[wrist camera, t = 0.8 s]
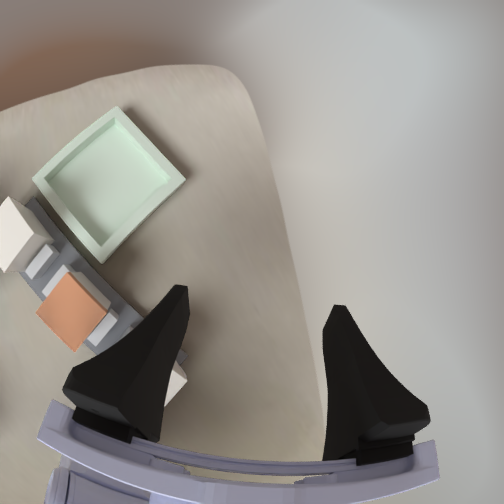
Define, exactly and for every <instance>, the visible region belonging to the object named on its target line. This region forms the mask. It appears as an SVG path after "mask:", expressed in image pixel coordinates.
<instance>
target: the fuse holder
mask: <svg viewBox="0 0 504 504" xmlns="http://www.w3.org/2000/svg"><path fill="white" fill-rule="evenodd" d="M14 200H15V199H14ZM15 201H16V200H15ZM17 202H18V201H17ZM18 203H19V202H18ZM20 204H21V203H20ZM21 205H22V204H21ZM25 207H26V208H28V209H29V210H31V211H32V212H33V213H34V215H35V216H36V217H37V219H38V220H39V221H40V223H41V224H42V225H43V227H44V228H45V229H46V231H47V232H48V233H49V234H50V236H51V237H52V238H53V239H54V242H53V243H52V244H51V245H48V244H46V245H45V246H44V247H43V248H42V250H41V251H40V252H39V253H38V255H37V256H36V257H35V258H34V260H33V261H32V262H31V264H30V265H29V266H28V268H27V269H26V270H25V272H19V273H20V274H21V276H22V277H23V278H24V279H25V281H26V282H27V283H28V284H29V286H30V287H31V288H32V289H33V291H34V292H35V293H36V294H37V295H38V296H39V298H40V299H41V300H42V301H43V302H44V300H45V299H46V298H47V296H48V295H49V294H50V293H51V291H52V290H53V289H54V287H55V286H56V285H57V284H58V282H59V281H60V280H61V279H62V277H63V276H64V275H65V274H66V273H67V272H71V273H73V272H82V273H83V274H84V275H85V276H86V277H87V278H88V279H89V280H90V281H91V282H92V283H93V285H94V286H95V287H96V288H97V289H98V290H99V291H100V292H101V293H102V294H103V295H104V296H105V297H106V298H107V299H108V300H109V301H110V302H111V304H110V306H109V308H108V312H107V314H106V315H105V316H104V317H103V318H102V319H101V321H100V322H99V323H98V324H97V325H96V327H95V328H94V329H93V330H92V332H91V333H90V334H89V335H88V336H87V338H86V339H85V340H84V341H83V343H84V344H85V345H86V346H87V347H89V348H90V349H91V350H92V351H93V352H94V353H95V354H96V355H98V354H100V353H101V352H103V351H105V350H106V349H108V348H109V347H111V346H112V345H114V344H115V343H116V342H118V341H119V340H120V339H122V338H123V337H124V336H126V335H127V334H128V333H129V332H130V331H132V330H133V329H134V328H135V327H136V326H137V325H138V324H139V323H140V322H141V321H142V320H143V319H144V317H143V316H142V315H140V314H139V313H138V312H137V311H136V310H135V309H134V308H133V307H132V306H131V305H130V304H129V303H128V302H127V301H125V300H124V299H123V298H122V297H121V296H120V295H119V294H118V293H117V292H116V291H115V290H114V289H113V288H112V287H111V286H110V285H109V284H108V283H107V282H106V281H105V280H104V279H103V278H102V277H101V276H100V275H99V273H98V272H97V271H96V270H95V269H94V268H93V267H92V266H91V265H90V264H89V263H88V262H87V261H86V260H85V258H84V257H83V256H82V255H81V254H80V253H79V252H78V251H77V249H76V248H75V247H74V246H73V245H72V244H71V242H70V241H69V240H68V239H67V238H66V237H65V235H64V234H63V233H62V232H61V230H60V229H59V228H58V227H57V226H56V224H55V223H54V222H53V221H52V219H51V218H50V217H49V215H48V214H47V213H46V211H45V210H44V209H43V207H42V206H41V205H40V203H39V202H38V201H37V199H36V198H35V197H32V199H31V200H30V201H29V202H28V203H27V204H26V205H25ZM187 357H188V355H187V354H186V353H185V352H184V351H183V350H181V349H179V352H178V355H177V358H176V361H177V363H178V365H179V367H180V365H181V364H182V363H183V361H184V360H185V359H186V358H187ZM180 368H181V367H180ZM181 370H182V372H183V374H184V375H185V377H186V378H187V376H186V374H185V372H184V371H183V369H182V368H181Z"/></svg>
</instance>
